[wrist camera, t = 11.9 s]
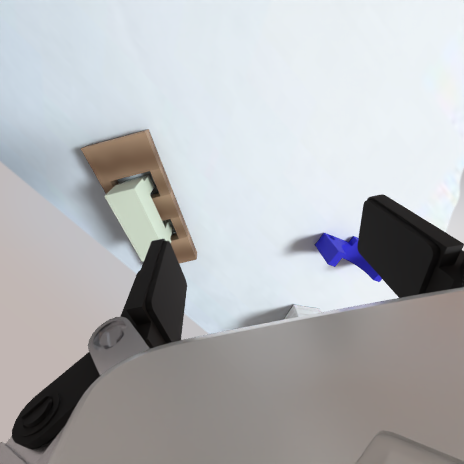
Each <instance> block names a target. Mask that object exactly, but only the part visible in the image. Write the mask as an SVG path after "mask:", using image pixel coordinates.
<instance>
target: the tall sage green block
mask: <svg viewBox="0 0 464 464" xmlns="http://www.w3.org/2000/svg"><path fill="white" fill-rule="evenodd" d="M153 189H154V185H153V183H152V180H151V178H150V176H149V175H147V176H143V177H139V178H135V179H132V180H128V181H124V182H123V183H122V184H118V185H115V186H114V187H113V188H112V189H111V190H110V191H109V192H108V193H107V194H106V195H105V196H104V197H105V198H106V200H107V202H108V204H109V205H110V207H111V209H112V210H113V212H114V214H115V216H116V217H117V219H118V221H119V223H120V224H121V226H122V228H123V230H124V231H125V233H126V235H127V237H128V238H129V240H130V242H131V243H132V245H133V247H134V249H135V250H136V252H137V254H138V256H139V257H140V259H141V261H142V262H143V261H144V260H145V257H146V255H147V252H148V249H149V247H150V244H151V242H152V241H154V240H159V239H165V240H166V241H170V243H171V239H170V238H171V234H172V231H173V228H172V226H171V224H170V221H169V220H165V221H162V220H161V217H160V215H159V213H158V211H157V209H156V206H155V204H154V202H153V200H152V198H151V196H150V193H151V192H152V190H153Z"/></svg>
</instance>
